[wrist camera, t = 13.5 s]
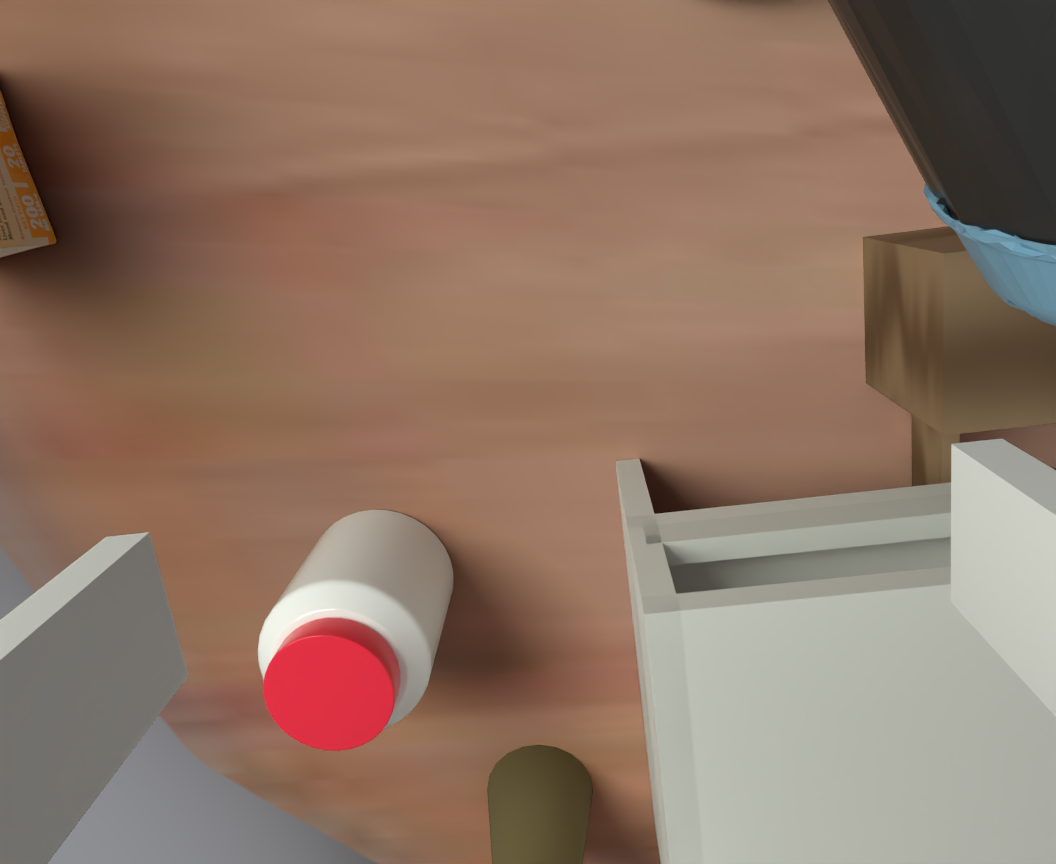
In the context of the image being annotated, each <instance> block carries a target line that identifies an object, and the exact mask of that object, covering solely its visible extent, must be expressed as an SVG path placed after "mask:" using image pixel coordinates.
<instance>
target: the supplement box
mask: <svg viewBox="0 0 1056 864" xmlns="http://www.w3.org/2000/svg"><path fill="white" fill-rule="evenodd" d="M55 243H56V237H55V235H54V232H53V229H52V227H51V225H50V222H49V220H48V217H47V214H46V212H45V210H44V207H43V204H42V202H41V199H40V197H39V195H38V192H37V189H36V187H35V184H34V182H33V179H32V177H31V175H30V171H29V169H28V166H27V164H26V162H25V159H24V157H23V154H22V151H21V149H20V146H19V144H18V141H17V138H16V135H15V133H14V130H13V127H12V124H11V121H10V118H9V114H8V112H7V109H6V106H5V102H4V99H3V96H2V94H1V90H0V258H1V257H5V256H8V255H12V254H16V253H19V252H23V251H27V250H30V249H34V248H38V247H42V246H46V245H51V244H55Z"/></svg>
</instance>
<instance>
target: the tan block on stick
mask: <svg viewBox="0 0 1056 864" xmlns="http://www.w3.org/2000/svg"><path fill="white" fill-rule="evenodd" d="M863 268H864V316H865V363H866V383H867V384H868V385H870V386H871V387H873V388H874V389H876V390H877V391H879V392H880V393H882V394H883V395H885V396H886V397H888V398H889V399H890V400H892V401H893V402H895V403H896V404H898V405H899V406H901V407H902V408H904V409H905V410H907V411H908V412H910V413H911V414H912V486H922V485H931V484H940V483H950V482H951V444H955V443H960V434H963V433H972V432H981V431H990V430H999V429H1009V428H1018V427H1027V426H1036V425H1045V424H1055V423H1056V326H1053V325H1050V324H1047V323H1044V322H1042V321H1040V320H1039V319H1037V318H1036V317H1033V316H1030V315H1029V314H1028V313H1027V312H1025V311H1023V310H1020V309H1017V308H1015V307H1012V306H1010V305H1008V304H1007V303H1005V302H1004V301H1003V300H1002V299H1001V298H1000V297H999V296H998V295H997V294H996V293H995V292H994V291H993V290H992V289H991V288H990V287H989V285H988V284H987V283H986V281H985V280H984V278H983V277H982V275H981V273H980V272H979V270H978V268H977V267H976V265H975V263H974V262H973V260H972V258H971V257H970V255H969V253H968V252H967V250H966V248H965V247H964V245H963V244H962V242H961V240H960V239H959V237H958V235H957V234H956V232H955V230H954V229H952V228H951V227H950V226H948V227H940V228H932V229H924V230H916V231H908V232H901V233H893V234H885V235H877V236H869V237H863Z"/></svg>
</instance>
